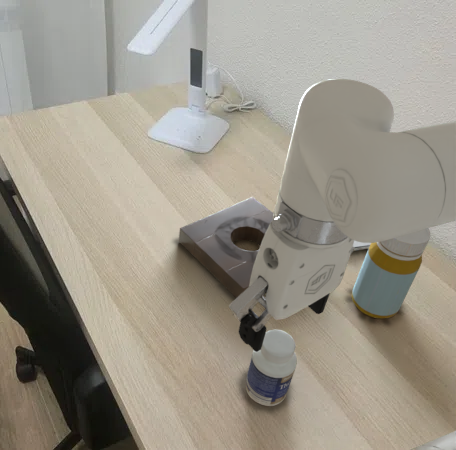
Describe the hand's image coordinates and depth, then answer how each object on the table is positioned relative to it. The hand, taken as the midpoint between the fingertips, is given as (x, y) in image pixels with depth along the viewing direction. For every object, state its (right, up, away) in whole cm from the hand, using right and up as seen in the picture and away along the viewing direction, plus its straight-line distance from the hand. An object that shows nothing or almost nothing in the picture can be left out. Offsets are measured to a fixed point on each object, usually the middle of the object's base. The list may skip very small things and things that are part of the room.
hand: (280, 323), depth 64 cm
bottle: (+19, -1, +20) cm, 27 cm away
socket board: (0, +7, +27) cm, 28 cm away
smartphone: (+18, +12, +34) cm, 40 cm away
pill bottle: (0, -10, +8) cm, 13 cm away
